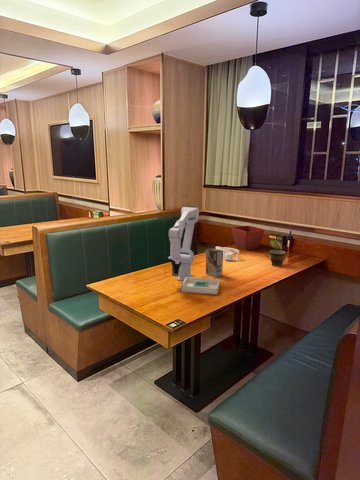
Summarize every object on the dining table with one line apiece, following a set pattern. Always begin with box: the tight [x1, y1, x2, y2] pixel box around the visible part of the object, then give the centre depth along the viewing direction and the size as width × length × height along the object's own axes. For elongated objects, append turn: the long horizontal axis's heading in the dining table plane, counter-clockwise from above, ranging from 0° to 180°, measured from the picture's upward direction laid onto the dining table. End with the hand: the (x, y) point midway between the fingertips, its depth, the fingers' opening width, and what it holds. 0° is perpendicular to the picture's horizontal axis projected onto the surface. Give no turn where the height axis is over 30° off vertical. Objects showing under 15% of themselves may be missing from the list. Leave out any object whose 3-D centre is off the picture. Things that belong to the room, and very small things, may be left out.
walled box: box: [180, 276, 221, 296], centre depth 192 cm, size 15×20×4 cm
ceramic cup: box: [265, 249, 286, 268], centre depth 233 cm, size 13×10×10 cm
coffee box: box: [205, 247, 224, 278], centre depth 214 cm, size 9×6×16 cm
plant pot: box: [231, 225, 265, 251], centre depth 278 cm, size 19×19×17 cm
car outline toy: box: [215, 246, 240, 262], centre depth 250 cm, size 20×11×7 cm, turn 38°
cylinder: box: [171, 265, 179, 277], centre depth 192 cm, size 4×4×7 cm
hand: (175, 272), depth 193 cm, fingers closed on cylinder, 4 cm apart
